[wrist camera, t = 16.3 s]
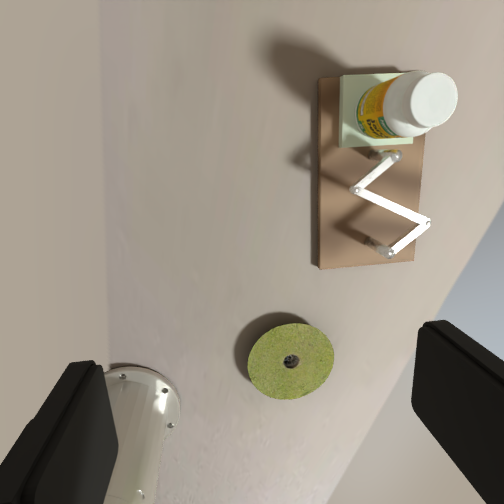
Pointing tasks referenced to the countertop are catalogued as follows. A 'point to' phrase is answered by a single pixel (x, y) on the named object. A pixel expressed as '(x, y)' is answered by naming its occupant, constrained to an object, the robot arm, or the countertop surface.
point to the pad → (349, 97)
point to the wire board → (355, 207)
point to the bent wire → (387, 203)
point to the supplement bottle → (406, 105)
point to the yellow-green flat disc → (290, 361)
